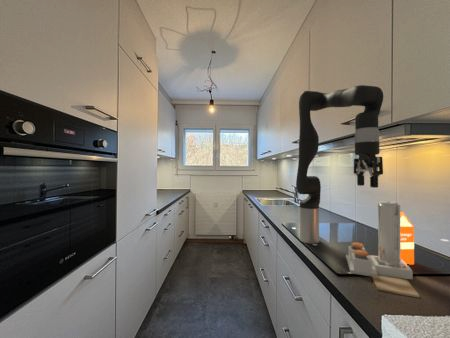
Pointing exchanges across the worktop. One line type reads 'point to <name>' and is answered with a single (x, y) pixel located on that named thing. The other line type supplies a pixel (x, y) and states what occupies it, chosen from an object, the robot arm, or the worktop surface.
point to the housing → (376, 266)
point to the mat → (394, 285)
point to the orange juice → (406, 239)
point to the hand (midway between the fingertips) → (367, 186)
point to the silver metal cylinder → (389, 234)
